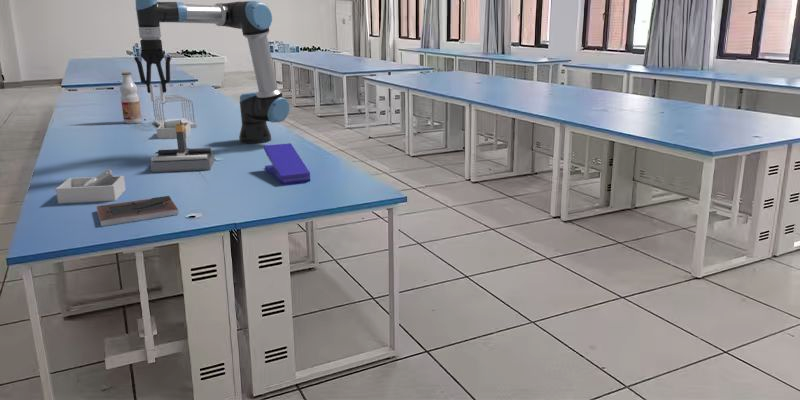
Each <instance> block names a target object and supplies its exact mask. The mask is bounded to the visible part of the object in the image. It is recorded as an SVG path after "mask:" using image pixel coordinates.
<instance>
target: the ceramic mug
mask: <svg viewBox="0 0 800 400" xmlns="http://www.w3.org/2000/svg"><path fill="white" fill-rule="evenodd" d="M177 124H182V122H181V120H175V121H167V122H165V123H164V128H175V126H176V125H177Z"/></svg>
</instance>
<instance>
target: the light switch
mask: <svg viewBox="0 0 800 400" xmlns="http://www.w3.org/2000/svg"><path fill="white" fill-rule="evenodd" d="M113 176H114V175H113V171H112V170H111V169H110V168H108V169H107V170H105V171H104V172H102V173H100V174H98V175H97V176H94V177H95V178H93V179H91V180H89V181H88V182H86V183H85V184H84V185H83V186H81V187H90V186H99V185H101V184H102V183H104V182H105V181H107V180H108V179H110V178H112V177H113Z"/></svg>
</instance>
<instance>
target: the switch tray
mask: <svg viewBox="0 0 800 400" xmlns="http://www.w3.org/2000/svg"><path fill="white" fill-rule="evenodd" d="M95 177H96V176H88V177H87V176H85V177H84V176H83V177H69V178H68V179H67V180H65V181H64V182H63V183H61V184H60V185H58V186H57V187H56V188H55V192H56V193H55V194H56V198H57V204H75V203H93V202H96V203H97V202H114V201H117V200H118V199H119V198H120V196H121V195H122V194H123V193H124V192H125V191H126V183H125V176H124V175H113V177H112V178H110V179H108V180H107V181H105V182H104V183H102V184H101V185H99V186H90V187H81V186H83V185H84V184H85V183H86V182H88V181H89V180H91V179H93V178H95Z"/></svg>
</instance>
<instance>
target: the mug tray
mask: <svg viewBox="0 0 800 400" xmlns="http://www.w3.org/2000/svg"><path fill="white" fill-rule="evenodd" d="M182 124H183V123H182ZM184 127H185V138H186V139H187V138H188V137H189V136H190V134H191V133H192V129H191V128H192V127H190V122H189V123H184ZM156 135H157V140H160V139H161V140H162V139H164V140H165V139H177V135H176V129H175V128H164V123H163V124H161V125H160V126H157V128H156Z"/></svg>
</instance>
